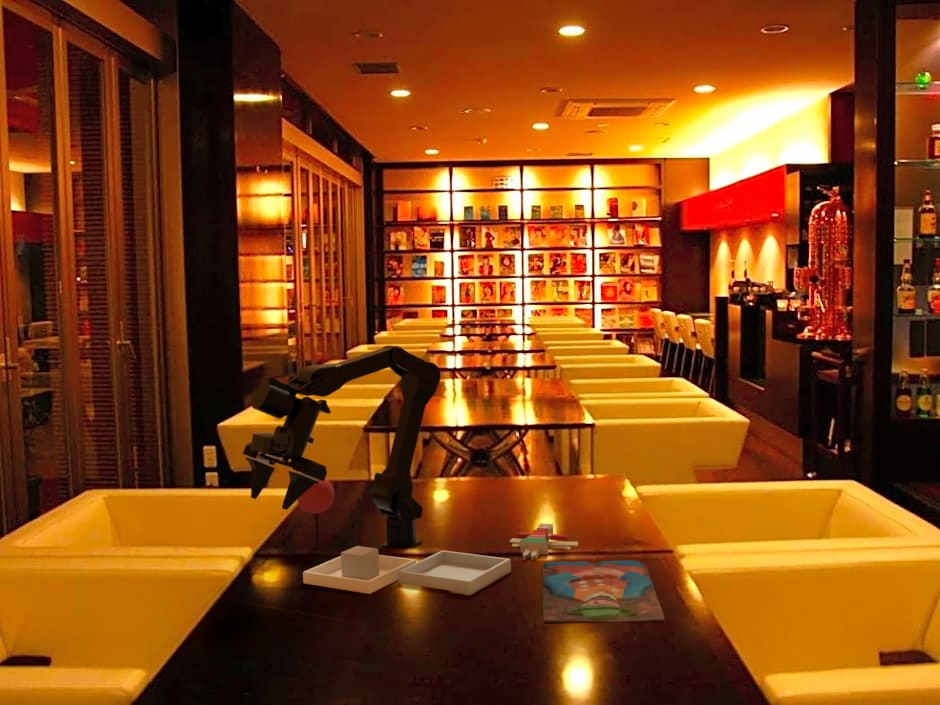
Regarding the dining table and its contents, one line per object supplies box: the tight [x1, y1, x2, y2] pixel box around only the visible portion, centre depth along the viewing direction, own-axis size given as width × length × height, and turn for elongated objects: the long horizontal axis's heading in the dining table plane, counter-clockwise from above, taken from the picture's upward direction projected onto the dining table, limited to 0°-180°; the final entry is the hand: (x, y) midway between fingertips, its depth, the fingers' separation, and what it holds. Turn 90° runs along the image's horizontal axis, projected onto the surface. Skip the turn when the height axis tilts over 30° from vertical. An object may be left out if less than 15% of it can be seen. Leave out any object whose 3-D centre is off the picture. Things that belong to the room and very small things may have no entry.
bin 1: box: [302, 554, 417, 595], centre depth 192 cm, size 15×15×2 cm
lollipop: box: [296, 478, 335, 548], centre depth 215 cm, size 8×8×15 cm
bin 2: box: [398, 550, 512, 596], centre depth 190 cm, size 15×15×2 cm
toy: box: [509, 522, 579, 561], centre depth 207 cm, size 15×4×15 cm
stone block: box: [340, 545, 380, 580], centre depth 192 cm, size 5×5×5 cm
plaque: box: [542, 559, 666, 624], centre depth 179 cm, size 20×2×30 cm
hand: (268, 503), depth 195 cm, fingers open, 9 cm apart
